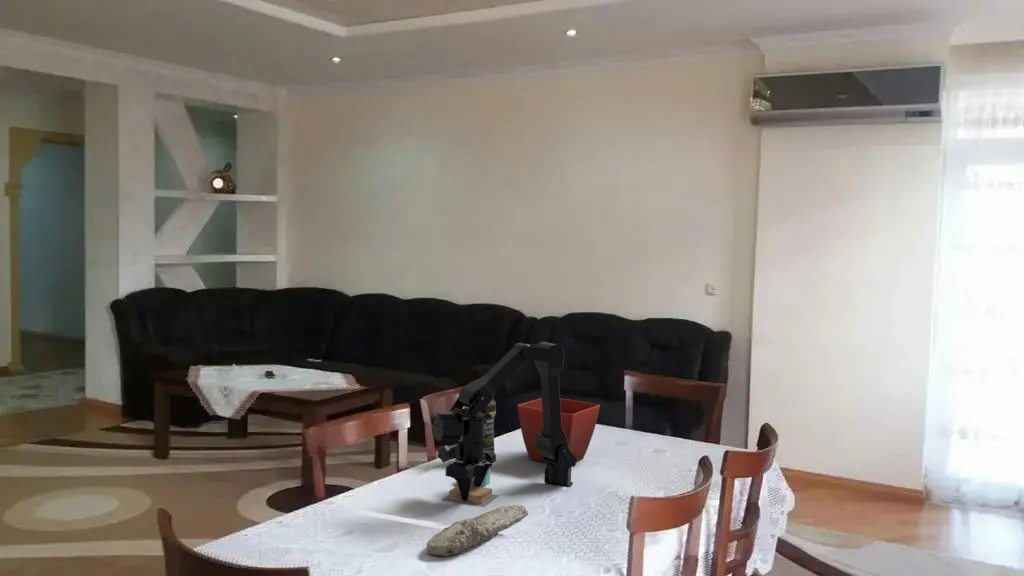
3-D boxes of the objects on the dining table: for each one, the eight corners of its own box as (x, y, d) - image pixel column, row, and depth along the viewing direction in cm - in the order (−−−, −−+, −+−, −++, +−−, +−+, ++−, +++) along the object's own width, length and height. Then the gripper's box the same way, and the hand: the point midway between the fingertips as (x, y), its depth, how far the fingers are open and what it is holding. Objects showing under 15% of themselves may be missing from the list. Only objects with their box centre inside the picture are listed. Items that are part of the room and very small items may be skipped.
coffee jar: (476, 465, 251) (478, 403, 250) (457, 459, 257) (459, 398, 255) (499, 459, 258) (501, 398, 257) (480, 454, 264) (482, 394, 262)
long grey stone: (538, 525, 207) (504, 518, 212) (539, 503, 207) (504, 497, 212) (452, 562, 177) (414, 553, 183) (452, 537, 178) (415, 529, 183)
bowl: (492, 484, 233) (493, 470, 232) (482, 492, 226) (482, 477, 226) (468, 481, 235) (469, 466, 235) (457, 488, 229) (457, 473, 228)
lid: (492, 496, 220) (492, 488, 219) (481, 504, 213) (481, 496, 213) (460, 491, 223) (460, 483, 223) (448, 498, 216) (448, 491, 216)
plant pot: (599, 457, 264) (601, 404, 263) (569, 471, 248) (571, 414, 247) (545, 447, 274) (547, 395, 273) (514, 460, 258) (516, 405, 257)
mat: (499, 499, 220) (499, 495, 220) (484, 510, 211) (484, 506, 211) (457, 492, 225) (457, 488, 225) (440, 503, 216) (440, 499, 215)
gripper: (459, 425, 228) (457, 482, 229) (427, 440, 211) (425, 502, 212) (497, 429, 224) (495, 488, 225) (468, 445, 207) (466, 508, 208)
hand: (470, 496), depth 218 cm, fingers closed on lid, 7 cm apart
